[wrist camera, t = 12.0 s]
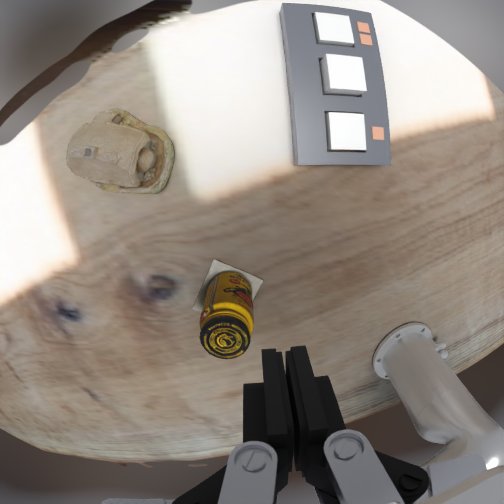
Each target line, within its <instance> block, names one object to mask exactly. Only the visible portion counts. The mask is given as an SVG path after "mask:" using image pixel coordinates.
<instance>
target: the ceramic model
mask: <svg viewBox="0 0 504 504" xmlns="http://www.w3.org/2000/svg"><path fill="white" fill-rule="evenodd" d="M66 160H67V161H66V164H67V166H68V168H69V169H70V170H71V172H73V173H74V174H75V175H77V176H80V177H83V178H86V179H88V180H90V181H92V182H93V183H95V184H96V186H98V187H99V188H101V189H102V190H106V191H111V192H119V193H138V194H141V193H143V194H146V193H153V194H155V193H158V192H159V191H161V190H162V189H163V188H164V187H165V185H166V183H167V181H168V178H169V176H170V173H171V170H172V167H173V163H174V148H173V144H172V142H171V140H170V139H169V137H168V136H167V135H166V133H165V132H164V131H163V130H162V129H160V128H158V127H155V126H149V125H146V124H144V123H143V122H142V121H140V120H138V119H136V118H135V117H133V116H132V115H130V114H129V113H128V112H126V111H123V110H120V109H112V110H109V111H104V112H101V113H99V114H98V115H97V116H96V117H95V119H94V120H93V121H92V122H91V123H86V124H84V125H82V126H81V127H80V128H79V129H78V130H77V131H76V132H75V133H74V134H73V135H72V137H71V138H70V140H69V144H68V149H67V157H66Z"/></svg>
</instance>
